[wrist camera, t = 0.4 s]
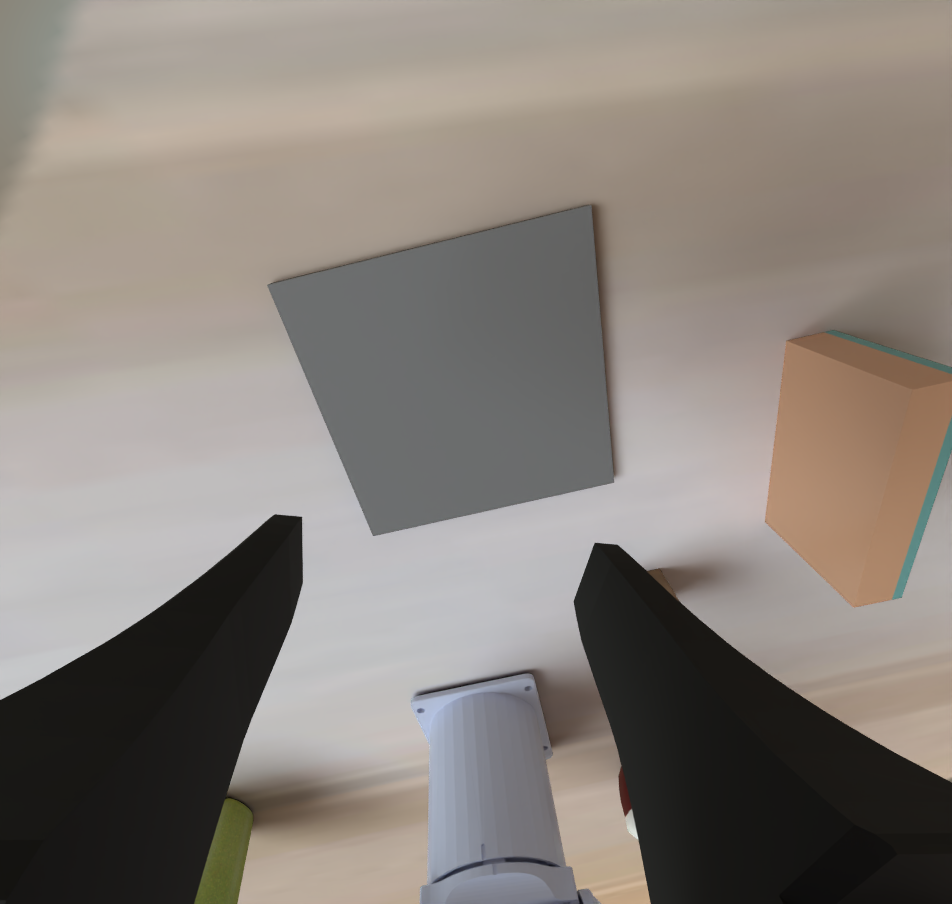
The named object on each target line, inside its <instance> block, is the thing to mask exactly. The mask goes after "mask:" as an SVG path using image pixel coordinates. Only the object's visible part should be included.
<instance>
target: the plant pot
mask: <svg viewBox="0 0 952 904" xmlns="http://www.w3.org/2000/svg"><path fill="white" fill-rule="evenodd" d="M252 824H253V815H252V812H251V811H250V809H249V808H248V807H246V806H245V805H244V804H242V803H241V802H239V801H237V800H234V799H231V798H227V799H225V801H224V804H223V807H222V811H221V814H220V817H219V821H218V824H217V827H216V831H215V834H214V837H213V841H212V844H211V847H210V850H209V854H208V857H207V861H206V864H205V868H204V871H203V875H202V878H201V882H200V885H199V889H198V892H197V896H196V899H195V903H194V904H237V902H238V897H239V892H240V886H241V881H242V876H243V871H244V865H245V860H246V856H247V850H248V845H249V840H250V835H251V830H252Z"/></svg>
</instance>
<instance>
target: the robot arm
mask: <svg viewBox="0 0 952 904" xmlns="http://www.w3.org/2000/svg"><path fill="white" fill-rule="evenodd" d="M302 584H303V559H302V517H297V516H286V515H273V516H272V517H271V518H269V519H268V520H267V521H266V522H265V523H264V524H262V525H261V526H260V527H259V528H258V529H257V530H256V531H255V532H253V533H252V534H251V535H250V536H249V537H248V538H247V539H245V540H244V541H243V542H242V543H241V544H240V545H238V546H237V547H236V548H235V549H234V550H233V551H231V552H230V553H229V554H228V555H227V556H225V557H224V558H223V559H222V560H220V561H219V562H218V563H217V564H216V565H214V566H213V567H212V568H211V569H209V570H208V571H207V572H206V573H205V574H203V575H202V576H201V577H199V578H198V579H197V580H196V581H194V582H193V583H192V584H190V585H189V586H187V587H186V588H185V589H183V590H182V591H181V592H179V593H178V594H177V595H175V596H174V597H173V598H171V599H170V600H169V601H167V602H166V603H165V604H163V605H162V606H160V607H159V608H157V609H156V610H155V611H153V612H152V613H150V614H149V615H147V616H146V617H144V618H143V619H141V620H140V621H138V622H137V623H135V624H134V625H132V626H131V627H129V628H128V629H126V630H125V631H123V632H121V633H120V634H118V635H117V636H115V637H114V638H112V639H110V640H109V641H107V642H105V643H104V644H102V645H100V646H98V647H97V648H95V649H93V650H91V651H90V652H88V653H86V654H84V655H83V656H81V657H79V658H77V659H76V660H74V661H72V662H70V663H69V664H67V665H65V666H63V667H61V668H60V669H58V670H56V671H54V672H53V673H51V674H49V675H47V676H46V677H44V678H42V679H40V680H38V681H36V682H34V683H33V684H31V685H29V686H27V687H25V688H23V689H21V690H19V691H17V692H15V693H13V694H11V695H9V696H7V697H5V698H4V699H2V700H0V904H194V903H195V899H196V896H197V892H198V889H199V885H200V882H201V878H202V875H203V871H204V868H205V864H206V861H207V857H208V854H209V850H210V847H211V844H212V841H213V837H214V834H215V831H216V827H217V824H218V821H219V817H220V814H221V811H222V807H223V804H224V801H225V798H226V794H227V791H228V788H229V785H230V781H231V778H232V775H233V772H234V769H235V766H236V763H237V759H238V756H239V753H240V750H241V747H242V744H243V741H244V738H245V735H246V733H247V730H248V727H249V724H250V722H251V719H252V717H253V714H254V712H255V709H256V707H257V705H258V702H259V700H260V698H261V695H262V693H263V690H264V688H265V686H266V683H267V681H268V678H269V676H270V674H271V671H272V669H273V666H274V664H275V662H276V659H277V657H278V655H279V652H280V650H281V647H282V645H283V642H284V640H285V638H286V635H287V633H288V630H289V628H290V625H291V623H292V619H293V616H294V612H295V609H296V606H297V602H298V598H299V595H300V591H301V587H302ZM574 606H575V611H576V617H577V622H578V627H579V631H580V636H581V640H582V643H583V646H584V650H585V653H586V656H587V659H588V662H589V665H590V668H591V671H592V673H593V676H594V679H595V682H596V685H597V688H598V691H599V694H600V697H601V700H602V702H603V705H604V708H605V711H606V714H607V717H608V720H609V723H610V726H611V729H612V732H613V735H614V739H615V742H616V745H617V749H618V753H619V757H620V761H621V765H622V769H623V773H624V777H625V782H626V786H627V790H628V794H629V798H630V803H631V808H632V812H633V817H634V821H635V826H636V831H637V835H638V840H639V844H640V849H641V855H642V860H643V865H644V870H645V876H646V881H647V886H648V891H649V897H650V902H651V904H952V783H951V782H950V781H948V780H946V779H944V778H942V777H940V776H938V775H936V774H934V773H932V772H931V771H929V770H927V769H925V768H923V767H921V766H919V765H917V764H915V763H913V762H911V761H909V760H908V759H906V758H904V757H902V756H900V755H898V754H896V753H894V752H893V751H891V750H889V749H887V748H886V747H884V746H882V745H880V744H879V743H877V742H875V741H873V740H872V739H870V738H868V737H867V736H865V735H863V734H861V733H860V732H858V731H856V730H855V729H853V728H851V727H849V726H848V725H846V724H844V723H843V722H841V721H840V720H838V719H836V718H835V717H833V716H831V715H830V714H828V713H826V712H825V711H823V710H822V709H820V708H819V707H817V706H816V705H814V704H813V703H811V702H809V701H808V700H806V699H805V698H803V697H802V696H800V695H799V694H797V693H796V692H794V691H793V690H791V689H790V688H788V687H787V686H785V685H784V684H782V683H781V682H779V681H778V680H777V679H775V678H774V677H772V676H771V675H769V674H768V673H767V672H765V671H764V670H763V669H761V668H760V667H759V666H757V665H756V664H755V663H753V662H752V661H751V660H749V659H748V658H747V657H745V656H744V655H742V654H741V653H740V652H738V651H737V650H736V649H735V648H733V647H732V646H731V645H730V644H728V643H727V642H726V641H725V640H723V639H722V638H721V637H720V636H719V635H717V634H716V633H715V632H714V631H713V630H711V629H710V628H709V627H708V626H707V625H705V624H704V623H703V622H702V621H701V620H699V619H698V618H697V617H696V616H695V615H694V614H693V613H691V612H690V611H689V610H688V609H687V608H686V607H685V606H684V605H683V604H681V603H680V602H679V601H678V600H677V599H676V598H675V597H674V596H673V595H672V594H670V593H669V592H668V591H667V590H666V589H665V588H664V587H663V586H662V585H661V584H660V583H659V582H658V581H657V580H655V579H654V578H653V577H652V576H651V575H650V574H649V573H648V572H647V571H646V570H645V569H644V568H643V567H642V566H641V565H640V564H638V563H637V562H636V561H635V560H634V559H633V558H632V557H631V556H630V555H629V554H628V553H626V552H625V551H624V550H623V549H622V548H621V547H619V546H618V545H614V544H603V543H595V544H594V546H593V549H592V552H591V555H590V558H589V560H588V563H587V566H586V569H585V571H584V574H583V577H582V580H581V582H580V585H579V588H578V591H577V594H576V596H575V599H574ZM411 708H412V710H413V712H414V714H415V716H416V718H417V720H418V722H419V724H420V726H421V728H422V731H423V733H424V735H425V737H426V739H427V741H428V743H429V745H430V749H429V810H428V871H427V885H423V886H421V887H420V904H601V903H600V902H599V901H598V900H597V899H596V898H595V897H594V896H593V894H592V892H591V891H590V890H589V889H581V890H578V891H577V890H576V885H575V880H574V875H573V870H572V867H570V866H569V867H566V862H565V857H564V852H563V847H562V842H561V837H560V832H559V826H558V821H557V816H556V811H555V806H554V801H553V795H552V790H551V785H550V780H549V775H548V770H547V764H546V759H549V758H551V757H552V756H553V752H552V748H551V744H550V740H549V736H548V732H547V728H546V724H545V719H544V715H543V711H542V707H541V703H540V699H539V695H538V691H537V687H536V683H535V679H534V676H533V675H531V674H528V673H527V674H521V675H516V676H511V677H506V678H501V679H497V680H492V681H487V682H482V683H477V684H473V685H468V686H463V687H458V688H453V689H448V690H444V691H439V692H434V693H429V694H424V695H419V696H416V697H414V698H412V700H411Z"/></svg>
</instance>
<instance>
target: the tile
mask: <svg viewBox="0 0 952 904" xmlns="http://www.w3.org/2000/svg"><path fill="white" fill-rule="evenodd" d="M951 451H952V367H949V366H946V365H942V364H939V363H936V362H933V361H930V360H927V359H923V358H920V357H917V356H914V355H911V354H907V353H904V352H901V351H898V350H895V349H892V348H888V347H885V346H882V345H879V344H876V343H873V342H869V341H866V340H863V339H860V338H857V337H853V336H850V335H847V334H844V333H841V332H838V331H834V330H831V331H827V332H823V333H818V334H814V335H810V336H805V337H801V338H797V339H792V340H788V341H786V348H785V356H784V365H783V373H782V382H781V390H780V398H779V407H778V415H777V424H776V432H775V441H774V449H773V457H772V466H771V474H770V483H769V491H768V500H767V508H766V517H765V522H766V523H767V524H768V525H769V526H770V527H771V528H772V529H773V530H774V531H775V532H776V533H777V534H778V535H779V536H780V537H781V538H782V539H783V540H784V541H785V542H786V543H787V544H788V545H789V546H790V547H791V548H792V549H793V550H795V551H796V552H797V553H798V554H799V555H800V556H801V557H802V558H803V559H804V560H805V561H806V562H807V563H808V564H809V565H810V566H811V567H812V568H813V569H814V570H815V571H816V572H817V573H818V574H819V575H820V576H821V577H822V578H823V579H824V580H826V581H827V582H828V583H829V584H830V585H831V586H832V587H833V588H834V589H835V590H836V591H837V592H838V593H839V594H840V595H841V596H842V597H843V598H844V599H845V600H846V601H847V602H848V603H849V604H850V605H851V606H852V607H853V608H854V607H859V606H864V605H868V604H873V603H878V602H883V601H888V600H893V599H897V598H902V595H903V592H904V589H905V586H906V583H907V580H908V577H909V574H910V571H911V568H912V565H913V562H914V560H915V557H916V554H917V551H918V548H919V545H920V542H921V539H922V536H923V533H924V530H925V527H926V524H927V521H928V518H929V515H930V512H931V510H932V507H933V504H934V501H935V498H936V495H937V492H938V489H939V486H940V483H941V480H942V477H943V474H944V471H945V468H946V465H947V462H948V459H949V457H950V454H951Z"/></svg>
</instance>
